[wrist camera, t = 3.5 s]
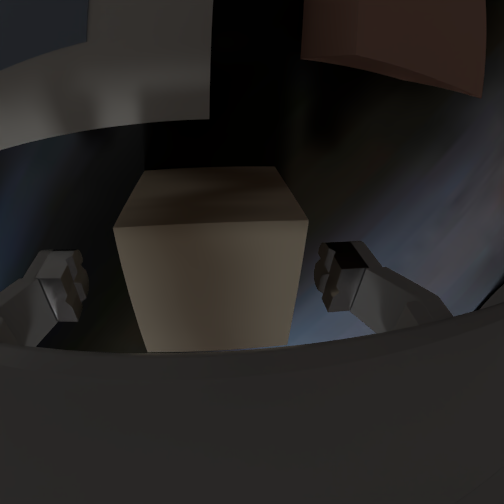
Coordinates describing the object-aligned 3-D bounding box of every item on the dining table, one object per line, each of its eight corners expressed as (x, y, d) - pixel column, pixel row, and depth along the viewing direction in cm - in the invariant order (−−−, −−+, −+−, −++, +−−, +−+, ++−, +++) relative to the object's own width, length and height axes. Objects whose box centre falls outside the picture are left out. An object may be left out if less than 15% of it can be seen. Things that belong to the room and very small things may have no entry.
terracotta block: (407, -11, 8) (483, -23, 4) (402, 80, 11) (481, 98, 6) (304, -42, 7) (356, -89, 3) (300, 59, 10) (355, 55, 6)
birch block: (274, 165, 12) (308, 220, 8) (266, 269, 16) (286, 344, 11) (144, 169, 12) (112, 227, 8) (159, 273, 15) (147, 351, 11)
